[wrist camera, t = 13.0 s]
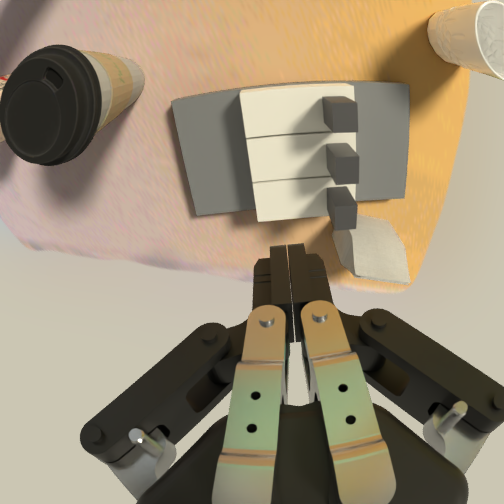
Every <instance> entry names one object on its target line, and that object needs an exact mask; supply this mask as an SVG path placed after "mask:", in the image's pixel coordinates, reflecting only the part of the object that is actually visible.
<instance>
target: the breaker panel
mask: <svg viewBox="0 0 504 504" xmlns="http://www.w3.org/2000/svg"><path fill="white" fill-rule="evenodd" d="M171 104H172V108H173V113H174V118H175V123H176V128H177V132H178V137H179V141H180V146H181V151H182V155H183V159H184V164H185V168H186V173H187V177H188V181H189V185H190V190H191V194H192V198H193V202H194V206H195V210H196V214H197V216H199V215H207V214H216V213H225V212H234V211H244V210H254V209H256V212H257V219H258V222H263V221H273V220H285V219H296V218H308V217H320V216H330V219H331V222H332V225H333V227H334V230H335V231H339V230H351V229H356V225H357V203H356V202H355V201H365V200H382V199H401V198H404V197H405V187H406V176H407V163H408V147H409V118H410V91H409V85H408V84H405V83H399V82H382V81H310V82H292V83H279V84H268V85H259V86H250V87H242V88H235V89H228V90H221V91H215V92H209V93H203V94H198V95H193V96H188V97H183V98H178V99H175V100H173V101H171ZM329 143H348V144H349V145H350V146H351V147H352V149H353V150H354V151H355V152H356V153H357V154H358V155H359V184H345V185H336V184H335V183H334V181H333V179H332V177H331V175H330V173H329V171H328V169H327V158H326V144H329Z"/></svg>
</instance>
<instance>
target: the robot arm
mask: <svg viewBox="0 0 504 504" xmlns="http://www.w3.org/2000/svg"><path fill="white" fill-rule="evenodd" d="M287 246H288V258H289V268H288V259H287V249H286V245H280V246H270V258H263V259H259V260H258V261H257V263H256V264H255V266H254V279H253V283H254V284H253V309H252V312H251V313H250V315H249V316H248V319H247V320H246V321H244V322H243V323H241V324H239V325H237V326H234V327H230V328H227V329H226V328H225V326H223V325H221V324H219V323H206V324H204V325H201V326H200V327H198V328H197V329H196V330H195V331H193V332H192V333H191V334H190V335H189V336H188V337H187V338H185V340H183V341H182V342H181V343H180V344H179V345H178V346H176V347H175V348H174V349H173V350H172V351H171V352H169V353H168V354H167V355H166V356H165V357H164V358H163V359H161V360H160V361H159V362H158V363H157V364H156V365H155V366H153V367H152V368H151V369H150V370H149V371H147V372H146V373H145V374H144V375H143V376H142V377H140V378H139V379H138V380H137V381H136V382H135V383H133V384H132V385H131V386H130V387H129V388H128V389H126V390H125V391H124V392H123V393H122V394H120V395H119V396H118V397H117V398H116V399H115V400H113V401H112V402H111V403H110V404H109V405H108V406H106V407H105V408H104V409H103V410H101V411H100V412H99V413H98V414H97V415H96V416H94V417H93V418H92V419H91V420H90V421H88V422H87V423H86V424H85V425H84V427H83V428H82V430H81V433H80V441H81V445H82V447H83V448H84V449H85V450H86V451H87V452H88V453H90V454H92V455H93V456H95V457H96V458H98V459H99V460H100V461H102V462H103V463H105V464H107V465H108V466H109V468H110V469H111V470H112V471H113V473H114V474H115V475H116V476H117V477H118V479H119V480H120V481H121V482H122V484H123V485H124V486H125V487H126V488H127V489H128V490H129V492H130V493H131V494H132V495H133V496H134V497H135V498H136V500H137V503H136V504H467V500H468V483H467V480H466V477H465V475H464V474H465V473H466V471H467V470H468V468H469V467H470V465H471V463H472V462H473V461H474V459H475V457H476V456H477V454H478V453H479V451H480V449H481V448H482V446H483V444H484V443H485V441H486V439H487V438H488V436H489V434H490V433H491V432H492V431H494V430H495V429H496V428H497V427H498V426H499V425H501V424H502V423H503V422H504V387H503V386H502V385H500V384H499V383H497V382H496V381H494V380H493V379H491V378H490V377H488V376H487V375H485V374H484V373H482V372H481V371H479V370H478V369H476V368H475V367H473V366H472V365H470V364H469V363H467V362H466V361H464V360H463V359H461V358H460V357H458V356H457V355H455V354H454V353H452V352H451V351H449V350H448V349H446V348H445V347H443V346H441V345H440V344H439V343H437V342H435V341H434V340H432V339H431V338H429V337H428V336H426V335H424V334H423V333H422V332H420V331H418V330H417V329H415V328H414V327H412V326H411V325H409V324H408V323H406V322H404V321H403V320H401V319H400V318H398V317H396V316H395V315H393V314H392V313H390V312H389V311H387V310H384V309H378V308H377V309H371V310H368V311H366V312H365V313H364V314H363V315H362V316H354V315H348V314H345V313H343V312H341V311H340V310H338V309H337V308H336V307H335V305H334V304H333V300H332V296H331V291H330V287H329V283H328V279H327V274H326V270H325V266H324V262H323V260H322V259H321V258H320V257H319V256H318V255H317V254H306V253H305V247H304V243H301V244H291V245H287ZM289 271H290V278H289ZM290 283H291V288H290ZM291 293H292V299H291ZM292 304H293V312H292ZM293 314H294V325H295V336H296V342H301V346H302V360H303V366H304V372H305V377H306V383H307V389H308V394H309V404H306V405H303V406H293V405H288V404H287V399H288V374H289V356H290V343H292V342H294V329H293ZM366 382H367V383H368V384H370V385H371V386H372V387H374V388H375V389H376V390H378V391H379V392H380V393H382V394H383V395H384V396H385V397H387V398H388V399H389V400H391V401H392V402H394V403H395V404H396V405H398V406H399V407H400V408H401V409H403V410H404V411H405V412H407V413H408V414H409V415H411V416H412V417H413V418H415V419H416V420H418V421H419V422H420V423H422V424H423V425H424V427H423V435H424V438H425V440H426V441H427V442H428V443H429V444H430V445H431V446H430V445H429V444H428V443H426V442H425V441H424V440H423V439H422V438H420V437H419V436H418V435H417V434H415V433H414V432H413V431H412V430H411V429H409V428H408V427H407V426H406V425H404V424H403V423H402V422H401V421H400V420H398V419H397V418H396V417H395V416H393V415H392V414H391V413H390V412H389V411H387V410H386V409H384V408H383V407H381V406H379V405H377V404H374V403H372V401H371V398H370V394H369V391H368V387H367V384H366ZM231 390H232V395H231V401H230V408H229V414H228V415H226V416H224V417H223V418H221V419H219V420H218V421H217V422H215V423H214V424H213V425H212V426H211V427H210V428H209V429H208V430H207V431H206V432H205V433H204V434H203V435H202V436H201V438H200V439H199V440H198V441H197V442H196V443H195V444H194V445H193V446H192V447H191V448H190V449H189V450H188V451H187V452H186V453H185V454H184V455H183V456H182V457H181V458H180V459H179V460H178V461H177V462H176V463H175V464H174V465H173V466H172V467H171V468H170V469H169V467H170V466H171V464H172V463H173V462H174V460H175V458H176V448H175V444H177V443H178V442H179V441H180V440H181V439H182V438H183V437H184V436H185V435H186V434H187V433H188V432H189V431H190V430H191V429H193V428H194V427H195V426H196V424H198V423H199V422H200V421H201V420H202V419H203V418H204V417H205V416H206V415H207V414H208V413H209V412H210V411H211V410H212V409H213V408H214V407H215V406H216V405H217V404H218V403H219V402H220V401H221V400H222V399H223V398H224V397H225V396H226V395H227V394H228V393H229V392H230V391H231Z"/></svg>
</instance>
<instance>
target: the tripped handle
mask: <svg viewBox="0 0 504 504" xmlns="http://www.w3.org/2000/svg"><path fill="white" fill-rule="evenodd" d="M326 158H327V169H328V171H329V173H330V175H331V177H332V179H333V181H334V183H335V184H336V185H345V184H359V155H358V154H357V153H356V152H355V151H354V150H353V149H352V147H351V146H350V145H349V144H348V143H329V144H326Z"/></svg>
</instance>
